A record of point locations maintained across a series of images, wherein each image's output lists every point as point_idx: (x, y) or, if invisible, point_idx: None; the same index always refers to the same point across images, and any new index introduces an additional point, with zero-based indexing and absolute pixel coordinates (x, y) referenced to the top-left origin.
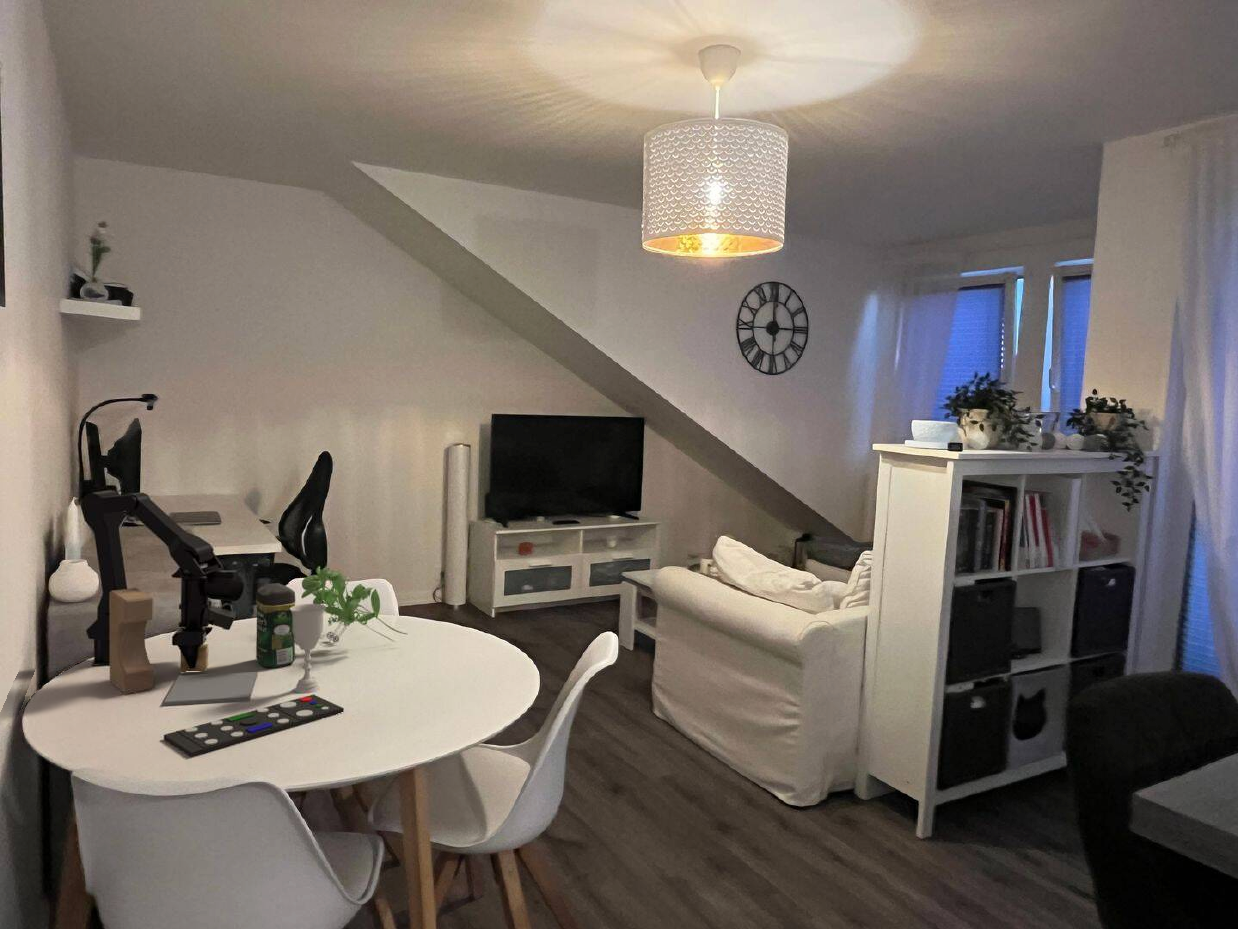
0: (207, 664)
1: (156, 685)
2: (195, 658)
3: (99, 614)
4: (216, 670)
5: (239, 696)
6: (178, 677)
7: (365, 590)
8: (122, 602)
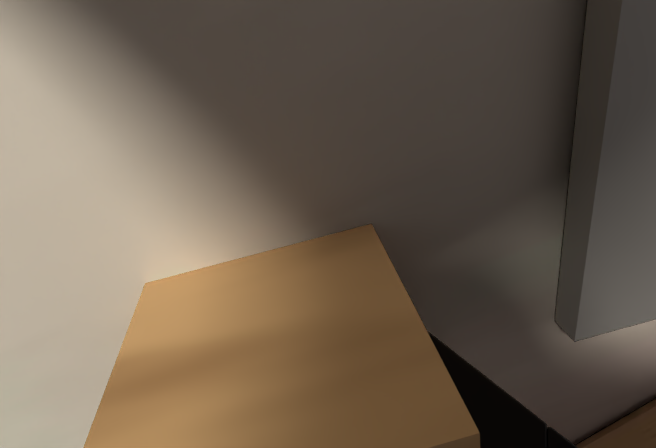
0: (202, 283)
1: (632, 381)
2: (504, 402)
3: None
4: (317, 129)
5: None
6: (611, 330)
7: None
8: None
